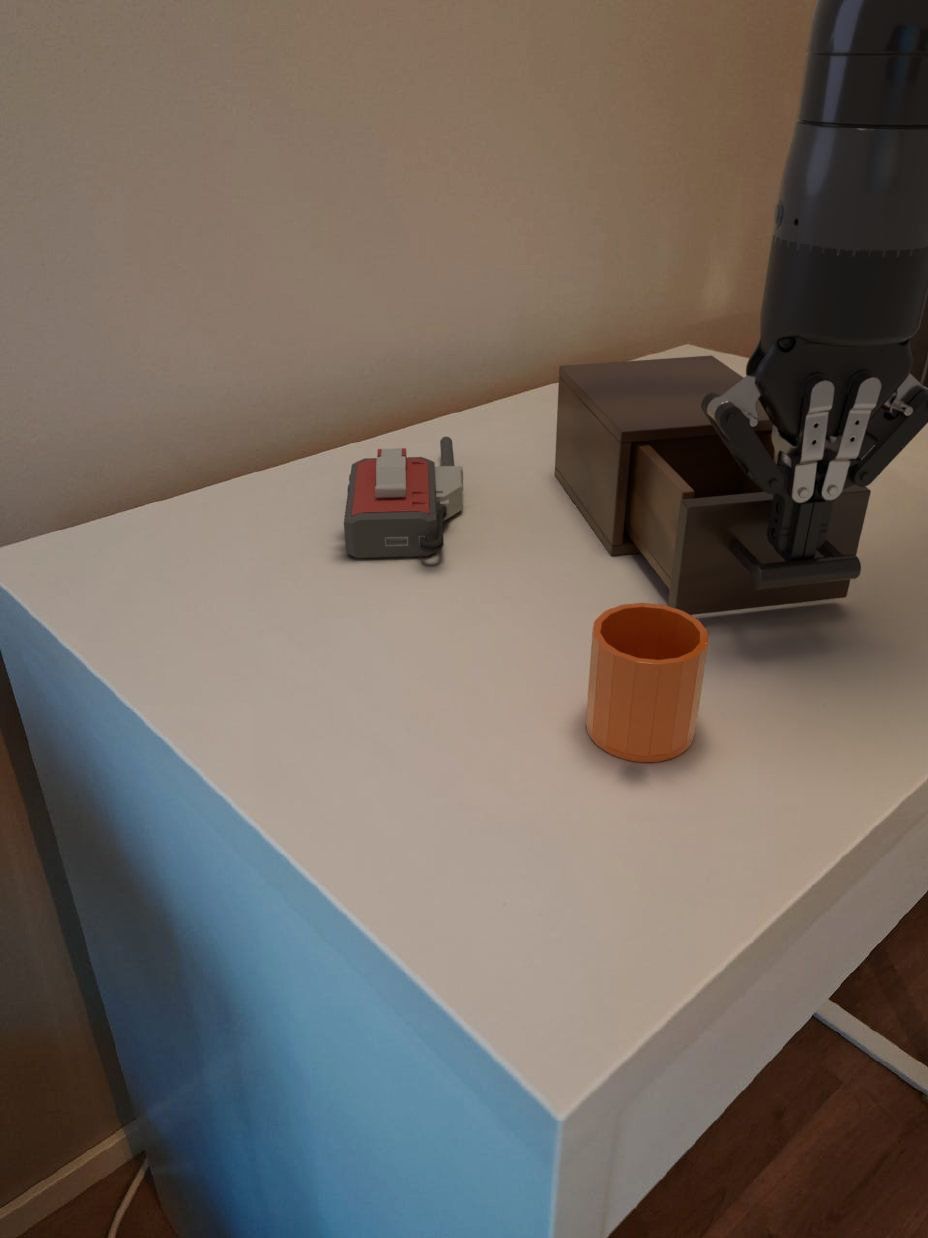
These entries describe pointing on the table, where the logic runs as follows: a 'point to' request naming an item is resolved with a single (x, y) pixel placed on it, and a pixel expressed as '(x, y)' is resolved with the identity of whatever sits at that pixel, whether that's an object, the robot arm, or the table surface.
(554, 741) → the table surface
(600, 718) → the orange cup
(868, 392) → the robot arm
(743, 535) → the drawer
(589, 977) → the table surface
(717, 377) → the cabinet
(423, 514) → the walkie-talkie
